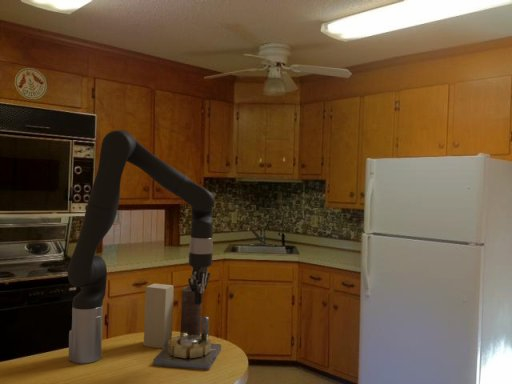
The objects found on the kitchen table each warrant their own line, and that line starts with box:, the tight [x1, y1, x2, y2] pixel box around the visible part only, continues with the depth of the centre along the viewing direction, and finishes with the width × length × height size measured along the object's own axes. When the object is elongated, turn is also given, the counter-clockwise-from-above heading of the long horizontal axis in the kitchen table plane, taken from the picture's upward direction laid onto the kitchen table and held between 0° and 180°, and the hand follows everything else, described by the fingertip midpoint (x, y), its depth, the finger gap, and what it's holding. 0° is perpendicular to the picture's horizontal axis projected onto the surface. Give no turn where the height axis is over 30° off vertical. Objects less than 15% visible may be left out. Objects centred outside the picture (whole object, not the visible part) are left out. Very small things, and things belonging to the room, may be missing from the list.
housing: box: [153, 336, 222, 371], centre depth 156 cm, size 18×18×6 cm
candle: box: [179, 285, 202, 336], centre depth 172 cm, size 8×7×20 cm
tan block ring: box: [167, 315, 212, 358], centre depth 156 cm, size 14×14×10 cm
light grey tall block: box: [143, 283, 175, 349], centre depth 168 cm, size 8×7×21 cm
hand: (198, 304), depth 153 cm, fingers closed
